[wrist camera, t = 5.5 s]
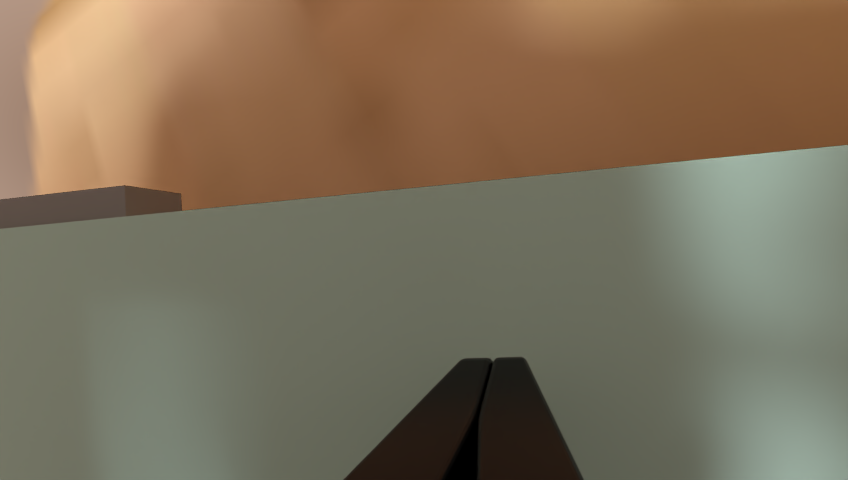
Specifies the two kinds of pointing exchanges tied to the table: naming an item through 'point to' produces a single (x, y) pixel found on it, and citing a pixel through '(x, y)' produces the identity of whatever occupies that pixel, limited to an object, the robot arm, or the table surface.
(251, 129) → the table surface
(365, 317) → the duct cover
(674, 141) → the table surface
